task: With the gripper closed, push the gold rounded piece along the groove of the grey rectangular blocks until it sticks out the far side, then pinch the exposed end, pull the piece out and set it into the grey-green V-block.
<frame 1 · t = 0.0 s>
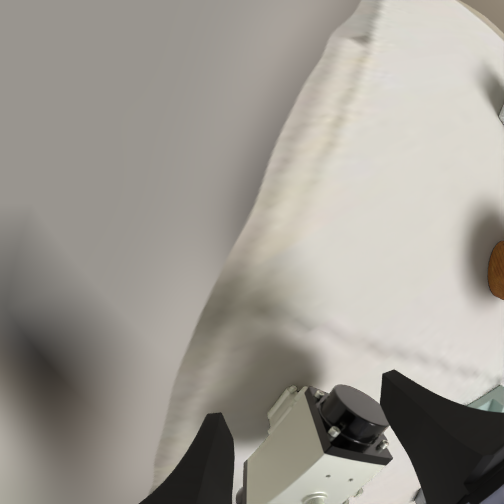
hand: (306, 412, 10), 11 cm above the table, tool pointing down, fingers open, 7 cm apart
disposable coffee cup: (501, 268, 21), on the table
v block: (472, 418, 22), on the table
pneumatic valve: (296, 405, 21), on the table
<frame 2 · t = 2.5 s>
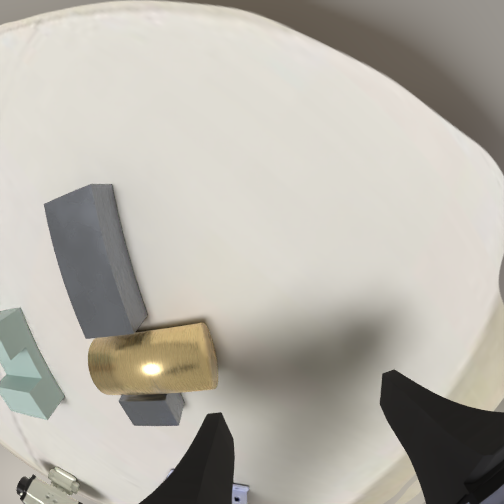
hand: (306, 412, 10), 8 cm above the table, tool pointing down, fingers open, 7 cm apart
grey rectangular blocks: (137, 350, 19), on the table
v block: (22, 355, 19), on the table
gold rounded piece: (152, 362, 17), point 2 cm above the table
pneumatic valve: (67, 473, 24), on the table
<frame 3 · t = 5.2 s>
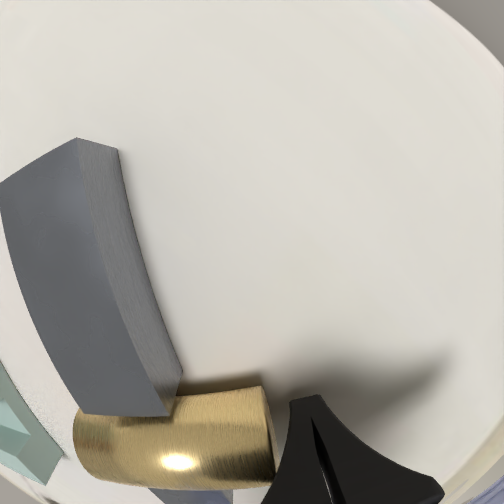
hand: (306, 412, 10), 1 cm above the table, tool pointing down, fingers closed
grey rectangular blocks: (165, 416, 11), on the table
v block: (4, 400, 11), on the table
gold rounded piece: (176, 444, 9), point 2 cm above the table, tilted 9°, touching gripper
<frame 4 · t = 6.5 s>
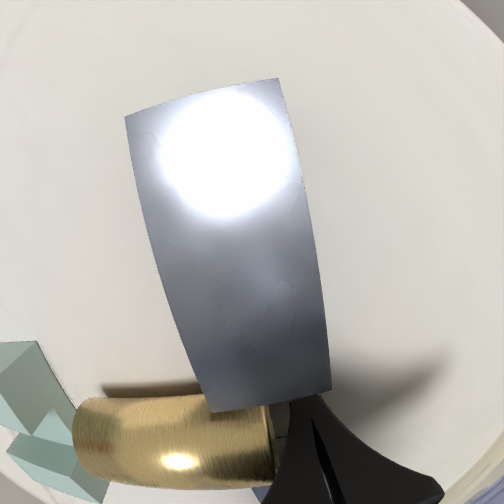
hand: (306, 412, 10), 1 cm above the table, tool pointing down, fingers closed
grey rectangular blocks: (276, 403, 11), on the table
v block: (43, 408, 11), on the table
gold rounded piece: (176, 443, 9), point 2 cm above the table, tilted 8°, touching gripper
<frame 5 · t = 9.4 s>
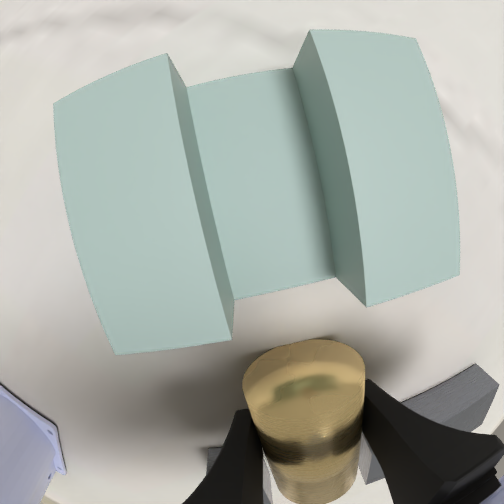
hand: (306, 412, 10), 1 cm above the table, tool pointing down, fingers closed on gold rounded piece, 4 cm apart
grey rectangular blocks: (310, 451, 13), on the table
v block: (260, 181, 9), on the table
gold rounded piece: (312, 436, 10), point 2 cm above the table, touching gripper
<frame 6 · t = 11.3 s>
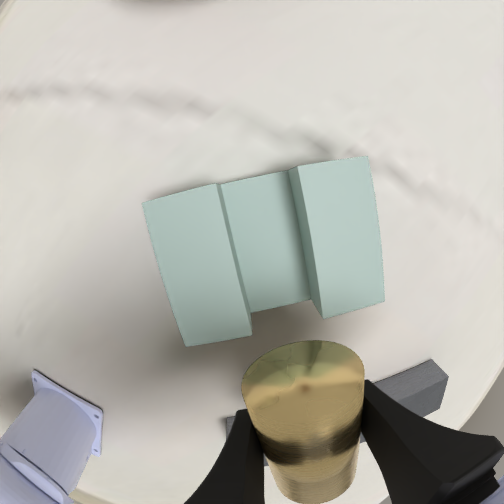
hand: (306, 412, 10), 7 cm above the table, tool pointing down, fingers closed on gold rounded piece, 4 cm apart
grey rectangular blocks: (301, 420, 19), on the table
v block: (266, 239, 16), on the table
gold rounded piece: (311, 436, 10), point 8 cm above the table, touching gripper
when the fingers open (6 cm above the table, at t = 13.1 s): gold rounded piece stays where it is, resting on v block.
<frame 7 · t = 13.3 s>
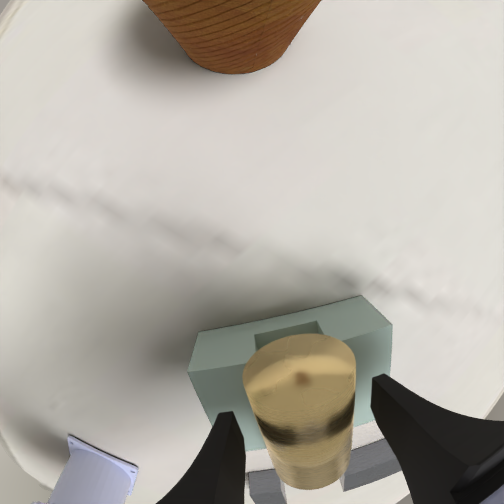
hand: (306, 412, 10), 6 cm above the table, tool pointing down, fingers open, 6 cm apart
disposable coffee cup: (236, 33, 12), on the table
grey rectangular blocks: (309, 471, 20), on the table
v block: (290, 362, 16), on the table
gold rounded piece: (307, 423, 11), point 6 cm above the table, touching v block
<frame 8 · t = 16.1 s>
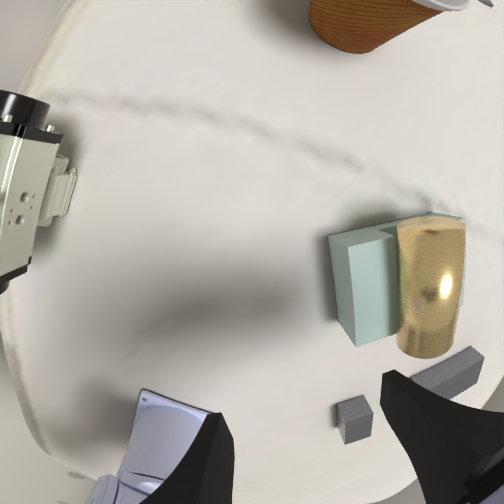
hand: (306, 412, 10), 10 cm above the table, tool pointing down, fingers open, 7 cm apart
disposable coffee cup: (344, 25, 16), on the table
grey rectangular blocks: (386, 398, 23), on the table
v block: (390, 265, 20), on the table
gold rounded piece: (430, 287, 14), point 6 cm above the table, touching v block
pneumatic valve: (64, 189, 18), on the table
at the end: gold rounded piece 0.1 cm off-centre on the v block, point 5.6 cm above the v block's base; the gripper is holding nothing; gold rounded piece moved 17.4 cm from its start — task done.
